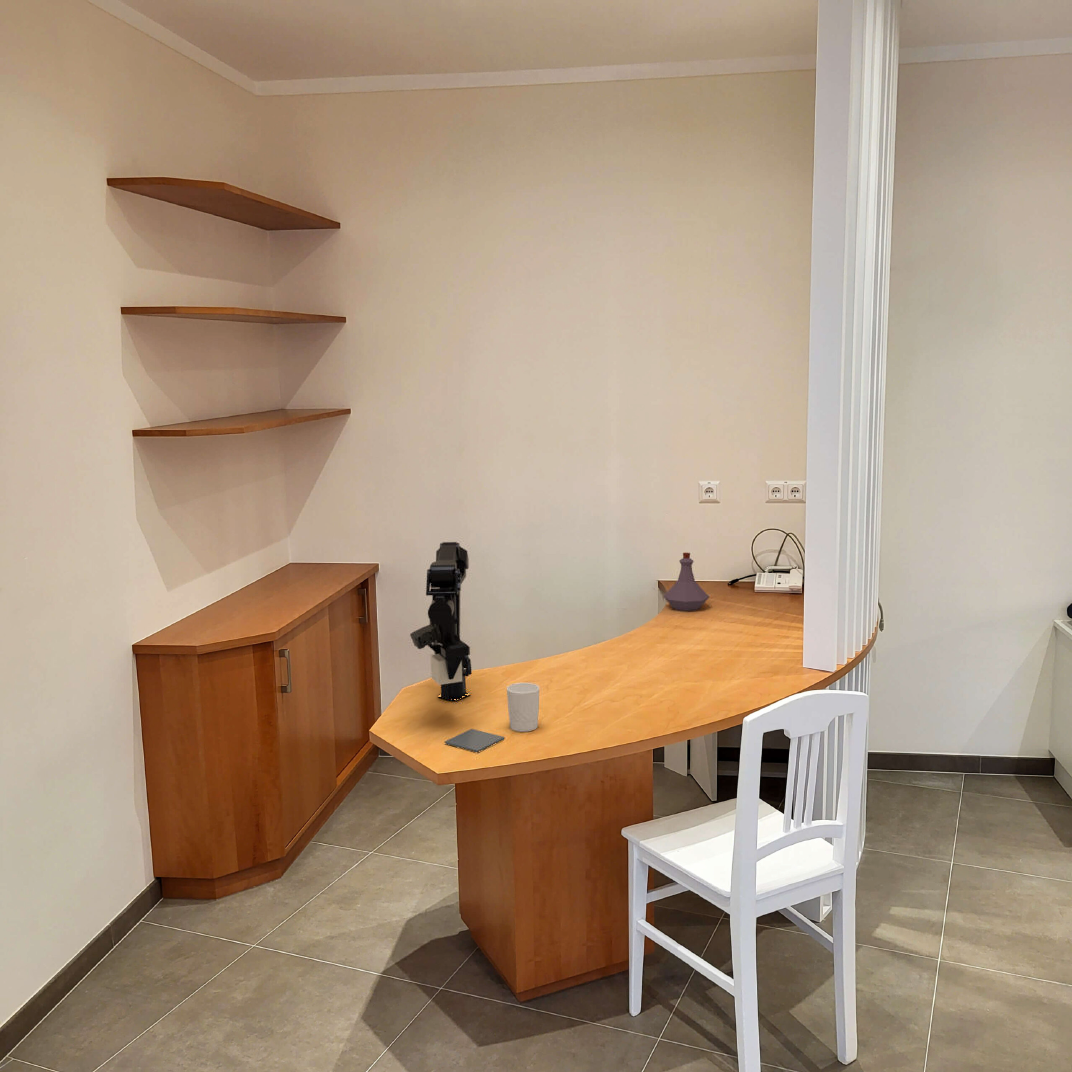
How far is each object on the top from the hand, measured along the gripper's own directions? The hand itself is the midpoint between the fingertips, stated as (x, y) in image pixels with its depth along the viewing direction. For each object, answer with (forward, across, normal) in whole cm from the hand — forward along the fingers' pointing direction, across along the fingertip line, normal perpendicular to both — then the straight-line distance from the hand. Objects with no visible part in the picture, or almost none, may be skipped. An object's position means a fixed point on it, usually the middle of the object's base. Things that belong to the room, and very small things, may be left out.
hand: (446, 675), depth 246 cm
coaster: (+11, +18, 0) cm, 21 cm away
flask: (+11, -68, +113) cm, 133 cm away
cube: (+1, 0, 0) cm, 1 cm away
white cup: (+11, +14, +14) cm, 23 cm away
